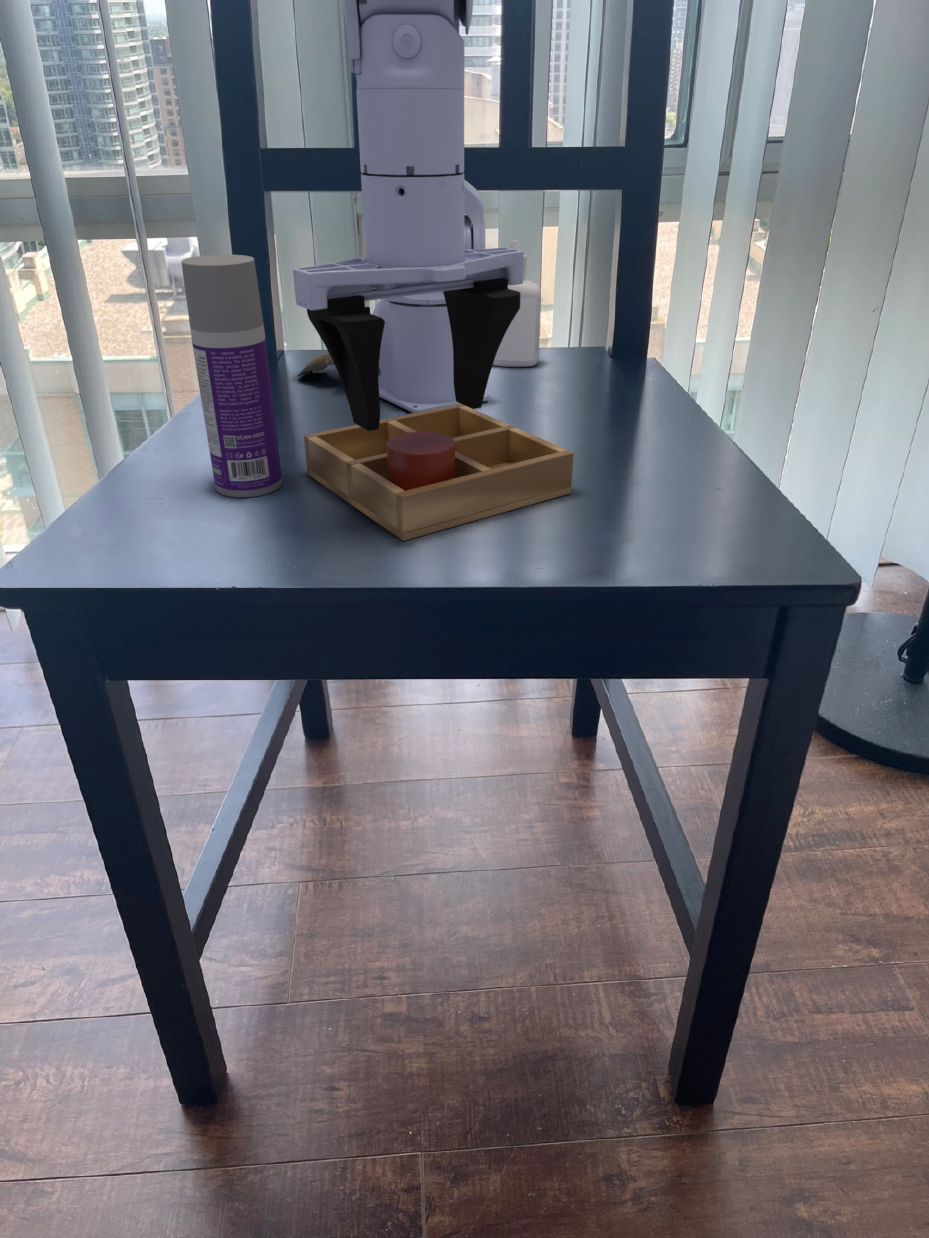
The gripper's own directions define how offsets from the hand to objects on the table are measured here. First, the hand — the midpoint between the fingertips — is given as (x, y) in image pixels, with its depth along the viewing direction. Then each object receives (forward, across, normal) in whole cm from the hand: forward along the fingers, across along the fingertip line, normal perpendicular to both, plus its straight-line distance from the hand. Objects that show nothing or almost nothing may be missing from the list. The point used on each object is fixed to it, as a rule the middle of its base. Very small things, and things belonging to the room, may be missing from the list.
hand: (419, 415), depth 54 cm
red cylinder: (+6, 0, 0) cm, 6 cm away
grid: (+6, +3, +3) cm, 8 cm away
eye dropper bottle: (+7, +28, +27) cm, 40 cm away
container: (+7, -8, +10) cm, 15 cm away
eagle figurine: (+7, +10, +31) cm, 34 cm away
